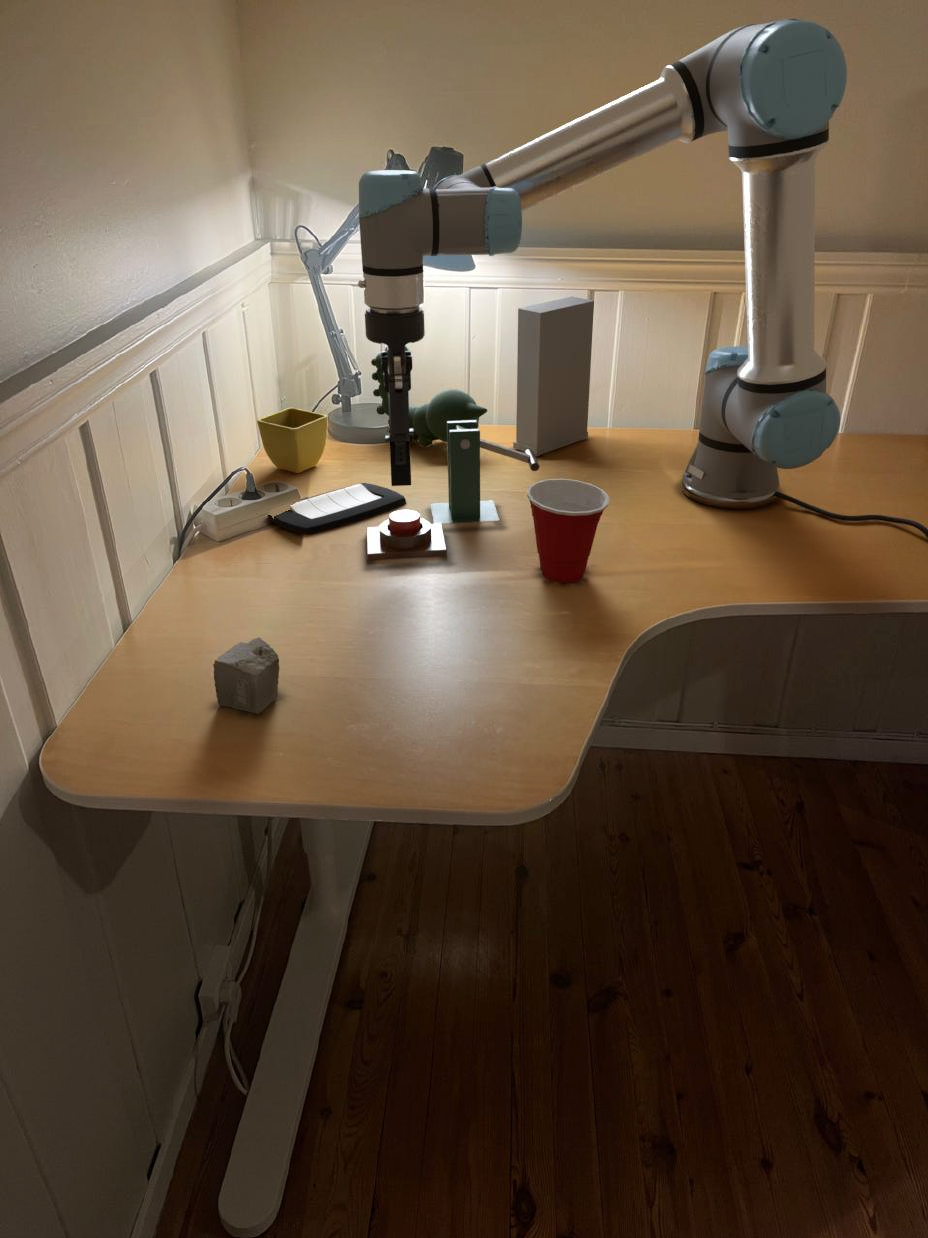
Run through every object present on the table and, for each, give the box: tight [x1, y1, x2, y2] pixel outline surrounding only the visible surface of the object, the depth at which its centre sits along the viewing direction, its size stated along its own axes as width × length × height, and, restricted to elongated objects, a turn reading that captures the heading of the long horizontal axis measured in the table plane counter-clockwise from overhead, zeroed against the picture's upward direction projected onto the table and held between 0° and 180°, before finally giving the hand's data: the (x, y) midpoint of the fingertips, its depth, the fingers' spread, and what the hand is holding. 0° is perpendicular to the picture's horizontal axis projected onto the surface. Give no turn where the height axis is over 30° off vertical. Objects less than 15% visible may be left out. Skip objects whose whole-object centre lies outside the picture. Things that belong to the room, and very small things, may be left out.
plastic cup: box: [526, 478, 610, 584], centre depth 125 cm, size 11×11×12 cm
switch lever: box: [455, 425, 540, 472], centre depth 140 cm, size 13×6×2 cm, turn 95°
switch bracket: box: [429, 420, 501, 525], centre depth 141 cm, size 10×8×15 cm
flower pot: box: [256, 407, 328, 474], centre depth 163 cm, size 9×9×9 cm
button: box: [388, 509, 421, 534], centre depth 133 cm, size 4×4×2 cm
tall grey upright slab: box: [512, 296, 595, 457], centre depth 167 cm, size 14×6×25 cm, turn 133°
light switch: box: [267, 482, 407, 536], centre depth 147 cm, size 20×3×14 cm
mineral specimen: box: [212, 637, 280, 715], centre depth 100 cm, size 7×9×8 cm
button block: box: [366, 517, 448, 562], centre depth 134 cm, size 11×9×4 cm
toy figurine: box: [370, 345, 488, 448], centre depth 170 cm, size 9×19×25 cm
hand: (401, 483), depth 130 cm, fingers closed
